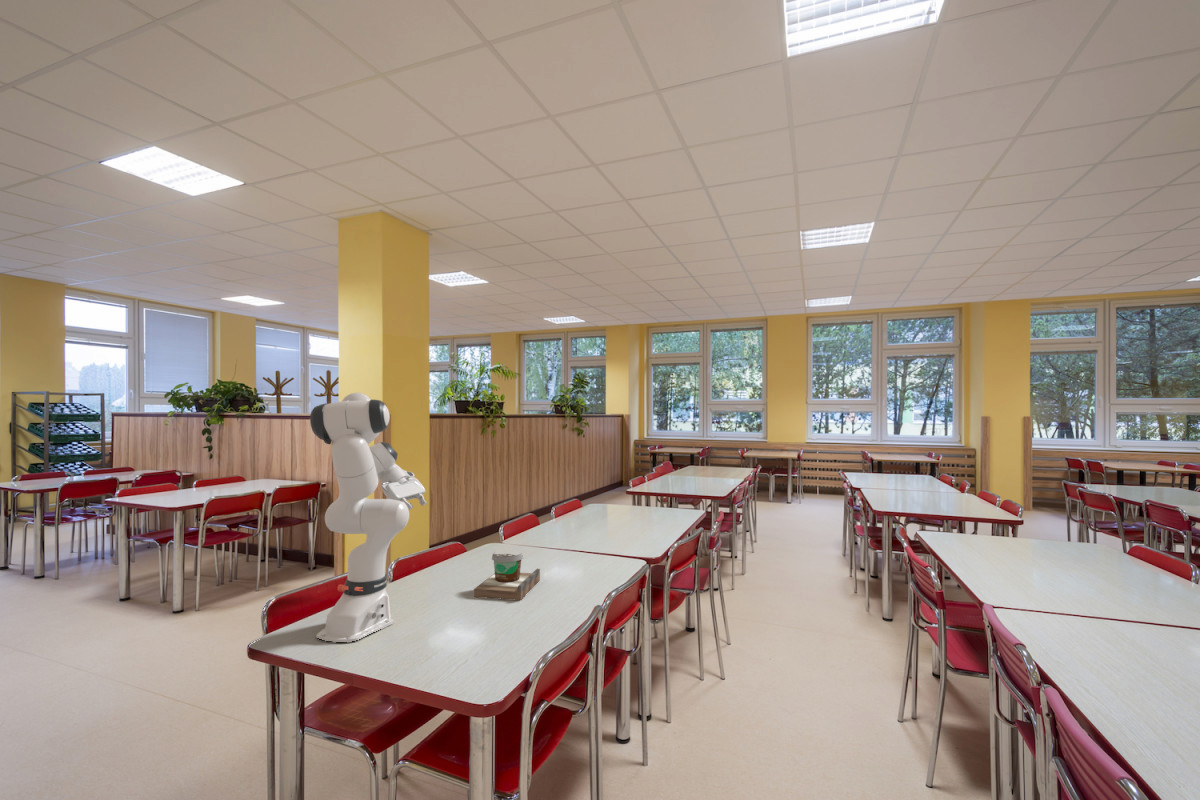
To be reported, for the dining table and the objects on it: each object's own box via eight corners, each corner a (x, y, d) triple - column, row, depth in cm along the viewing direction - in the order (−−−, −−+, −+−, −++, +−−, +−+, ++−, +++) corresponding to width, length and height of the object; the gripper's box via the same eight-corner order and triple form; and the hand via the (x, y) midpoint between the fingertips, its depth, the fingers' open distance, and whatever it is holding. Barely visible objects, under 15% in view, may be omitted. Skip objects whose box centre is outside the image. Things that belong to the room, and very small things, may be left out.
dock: (520, 600, 181) (521, 586, 181) (473, 597, 184) (474, 583, 185) (539, 581, 203) (539, 568, 203) (497, 578, 206) (497, 566, 206)
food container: (486, 582, 191) (486, 555, 191) (492, 577, 197) (493, 551, 198) (517, 584, 189) (517, 557, 189) (522, 579, 195) (523, 553, 195)
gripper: (384, 477, 186) (408, 505, 184) (415, 472, 206) (436, 496, 204) (373, 489, 187) (396, 517, 185) (404, 482, 207) (426, 507, 205)
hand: (418, 506), depth 194 cm, fingers open, 8 cm apart
